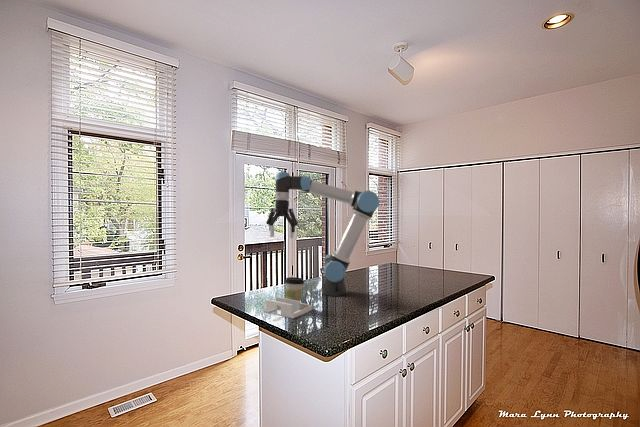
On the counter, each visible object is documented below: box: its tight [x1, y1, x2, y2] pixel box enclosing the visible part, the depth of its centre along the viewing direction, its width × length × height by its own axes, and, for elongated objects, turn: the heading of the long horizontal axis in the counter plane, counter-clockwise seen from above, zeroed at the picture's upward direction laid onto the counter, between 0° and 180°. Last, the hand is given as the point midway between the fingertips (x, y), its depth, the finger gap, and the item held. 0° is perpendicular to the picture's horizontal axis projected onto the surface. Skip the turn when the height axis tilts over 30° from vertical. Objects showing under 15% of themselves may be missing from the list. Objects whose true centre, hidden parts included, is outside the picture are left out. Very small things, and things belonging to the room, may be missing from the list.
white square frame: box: [263, 299, 314, 319], centre depth 168 cm, size 17×17×6 cm
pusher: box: [267, 296, 301, 315], centre depth 161 cm, size 15×14×6 cm
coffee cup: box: [284, 276, 305, 302], centre depth 171 cm, size 10×10×15 cm
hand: (281, 237), depth 192 cm, fingers open, 13 cm apart
